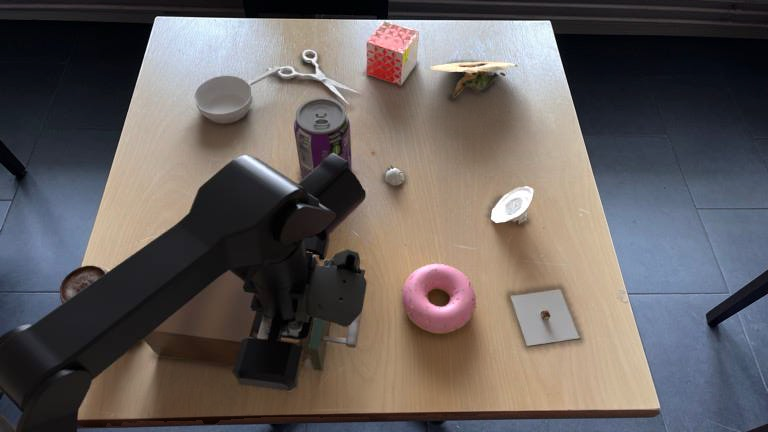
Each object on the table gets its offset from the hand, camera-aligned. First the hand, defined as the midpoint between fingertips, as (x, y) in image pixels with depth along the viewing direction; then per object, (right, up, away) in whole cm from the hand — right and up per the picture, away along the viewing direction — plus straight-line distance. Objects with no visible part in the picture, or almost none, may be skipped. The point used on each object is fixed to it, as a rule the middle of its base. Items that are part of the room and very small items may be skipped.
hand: (294, 330), depth 62 cm
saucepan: (-17, +37, +41) cm, 57 cm away
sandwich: (+28, +41, +45) cm, 67 cm away
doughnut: (+19, 0, +16) cm, 25 cm away
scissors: (-2, +42, +44) cm, 61 cm away
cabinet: (-13, -2, +13) cm, 19 cm away
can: (-26, -3, +12) cm, 29 cm away
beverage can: (+1, +21, +30) cm, 36 cm away
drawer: (-1, -2, +12) cm, 12 cm away
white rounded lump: (+13, +20, +30) cm, 38 cm away
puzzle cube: (+12, +45, +47) cm, 66 cm away
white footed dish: (+32, +14, +26) cm, 43 cm away
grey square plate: (+35, -1, +15) cm, 38 cm away
